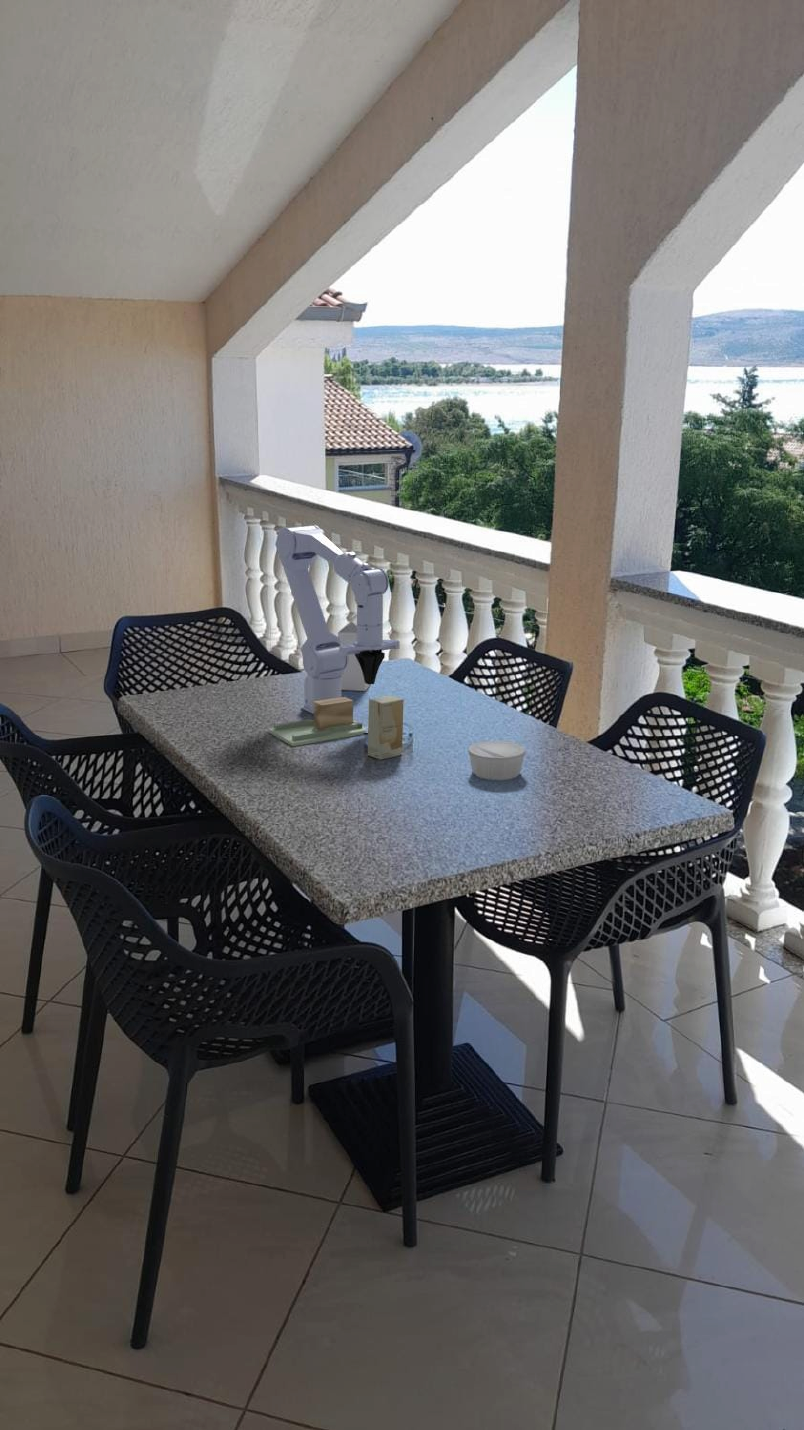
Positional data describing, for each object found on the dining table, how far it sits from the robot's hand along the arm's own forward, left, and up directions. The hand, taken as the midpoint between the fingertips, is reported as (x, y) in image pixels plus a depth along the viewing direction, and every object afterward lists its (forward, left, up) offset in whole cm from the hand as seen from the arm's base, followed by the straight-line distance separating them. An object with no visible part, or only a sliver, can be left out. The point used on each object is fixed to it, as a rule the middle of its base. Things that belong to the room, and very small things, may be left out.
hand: (369, 683), depth 250 cm
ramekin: (+41, +5, -10) cm, 43 cm away
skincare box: (+20, -8, -10) cm, 24 cm away
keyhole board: (-1, -12, -10) cm, 16 cm away
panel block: (-1, -9, -9) cm, 13 cm away
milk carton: (-31, +14, -10) cm, 35 cm away
